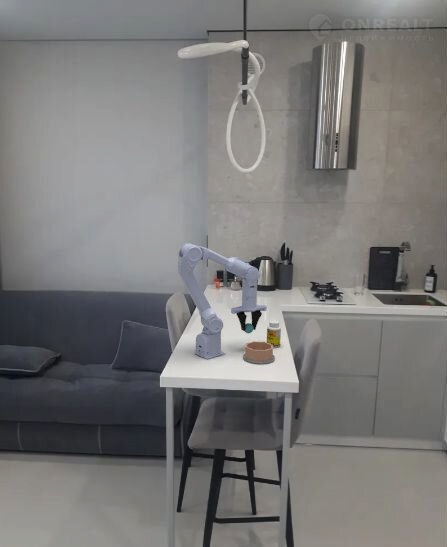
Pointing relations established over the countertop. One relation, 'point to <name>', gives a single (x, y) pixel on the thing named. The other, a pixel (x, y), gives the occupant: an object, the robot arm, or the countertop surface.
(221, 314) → the countertop surface
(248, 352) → the octagonal bowl
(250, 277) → the robot arm
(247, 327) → the ball
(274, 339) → the supplement bottle
